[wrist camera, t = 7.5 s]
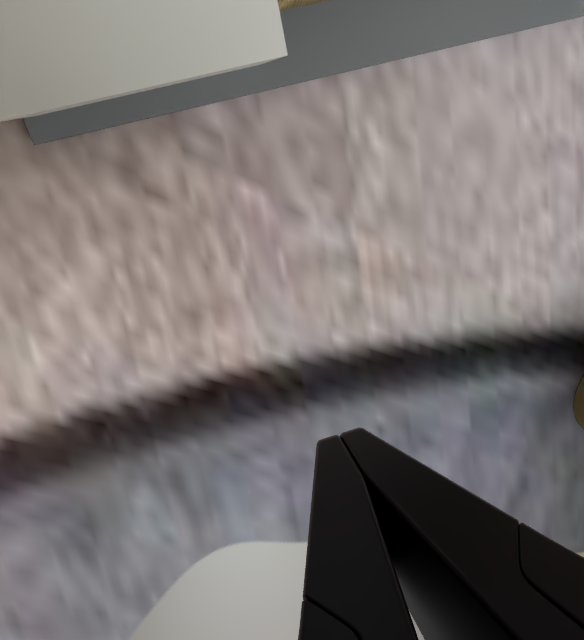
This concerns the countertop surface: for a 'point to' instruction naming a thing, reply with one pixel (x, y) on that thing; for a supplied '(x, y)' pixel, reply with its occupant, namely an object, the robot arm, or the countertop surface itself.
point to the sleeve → (124, 47)
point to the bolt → (296, 3)
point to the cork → (579, 403)
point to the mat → (321, 53)
